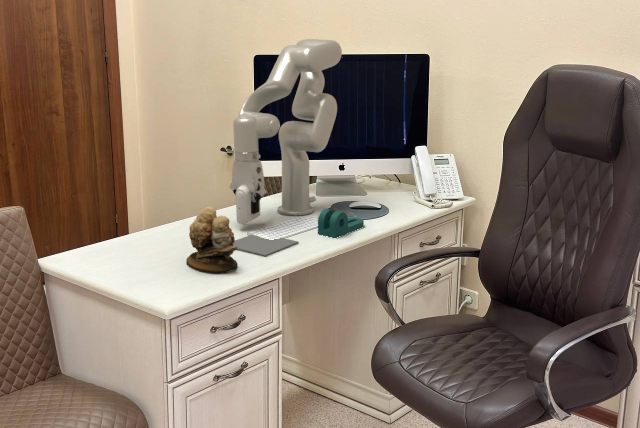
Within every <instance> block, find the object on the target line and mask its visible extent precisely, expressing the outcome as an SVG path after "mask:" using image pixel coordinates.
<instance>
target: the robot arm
mask: <svg viewBox="0 0 640 428" xmlns="http://www.w3.org/2000/svg"><path fill="white" fill-rule="evenodd" d="M342 53H343V51H342V47H341V45H340V43H338V42H337V41H336V40H334V39H318V38H317V39H315V38H313V39H312V38H308V39H307V38H305V39H301V40H298V41H297V43H296V44H291V45H286V46H284V47H283V48H282V49H281V51H280V53H279V55H278V57H277V60H276V62H275V63H274V65H273V68H272V70H271V72H270V74H269V76H268V78H267V79H266V82H265V83H263V84H262V85H260V86H259V87H258V88H256V89H255V90H254V91H253V92H251V94H249V96H248V97H246V99H245V101H244V102H243V104H242V106H241V108H240V111H239V112H238V115H237V117H234V119H233V123H232V124H233V125H232V126H233V127H232V128H233V146H234V147H233V149H234V159H233V162H232V171H231V173H232V174H231V175H232V176H231V180H232V181H231V183H230V184H229V186H228V187H229V189H230V190H231V191H232V193H233V194H234V195H235V196H236V191H237V189H238V188H239V187H240V186H241V185H243V186H244V185H245V186H246V187H247V188H248V189H249V192H250V193H251V197H252V201H253V202H251V213H252V214H255V213H258V212H259V200H260V201H261V200H262V198H263V197H264V196H265V195H267V193H268V192H267V190H266V189H265V176H264V169H263V163H262V161H261V160H259V159H261V154H260V153H259V139H263V138H265V139H267V138H273V137H274V136H276V135H277V134H278V141H279V146H280V151H281V152H280V153H281V205H279V206H277V212H278V213H279V214H280V215H281V214H282V215H283V216H284V215H286V216H292V215H293V217H296V216H297V217H298V215H299V216H306V215H310V214H312V213H314V207H313V206H312V205H311V203H314V202H316V200H317V199H316V198H317V197H316V196H310V160H309V156H308V154H307V152H311V153H312V152H313V153H320V152H322V151H323V150H324V149H326V147H327V145H328V142H329V140H330V138H331V133H332V131H333V127H334V124H335V121H336V117H337V113H338V104H337V100H336V98H335V97H334V96H333V95H331V94H329V93H324V92H323V90H324V88H325V82H326V81H325V76H324V73H323V72H322V71H324V70H327V69H329V68H332V67H334V66H336V65H337V64H338V63H339V62H340V60H341V58H342ZM299 75H300V79H299V83H298V87H297V90H296V92H295V93H296V94H295V96H294V99H293V102H292V106H291V112H292V115H293V117H295V118H297V119H299V120H300V121H297V120H291V121H290V120H289V121H286V122H283V124H282V125H281V123H280V120H279V119H278V117H277V116H275V114H274V115H273V114H271V113H263V112H260V111H261V110H262V109H263V108H265V106H267V105H269V104H271V103H273V102H276V101H278V100H281V99H283V98H286V97H287V96H290V94H291V93H292V90H293V89H294V86H295V84H296V82H297V80H298V77H299ZM301 120H304V121H301ZM307 121H313V122H307ZM259 190H260V193H259ZM255 194H256V197H255Z"/></svg>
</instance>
